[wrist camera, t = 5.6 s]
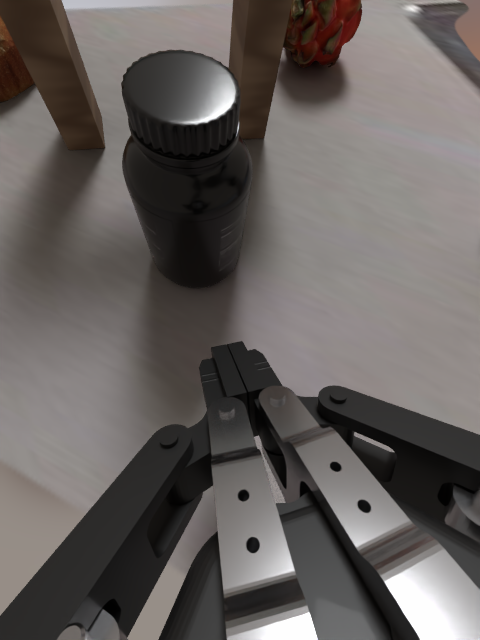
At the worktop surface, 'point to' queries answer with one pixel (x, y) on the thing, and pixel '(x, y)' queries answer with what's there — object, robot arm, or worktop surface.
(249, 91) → the gate
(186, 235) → the supplement bottle
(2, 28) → the bread roll
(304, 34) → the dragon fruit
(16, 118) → the worktop surface
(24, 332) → the worktop surface
